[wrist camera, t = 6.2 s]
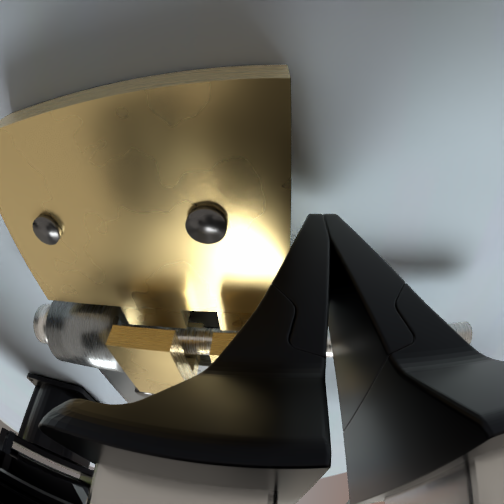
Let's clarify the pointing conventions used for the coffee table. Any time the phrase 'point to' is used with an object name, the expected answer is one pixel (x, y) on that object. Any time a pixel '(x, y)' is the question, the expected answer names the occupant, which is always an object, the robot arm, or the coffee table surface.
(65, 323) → the fixed leaf
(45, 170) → the loose leaf
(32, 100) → the coffee table surface
